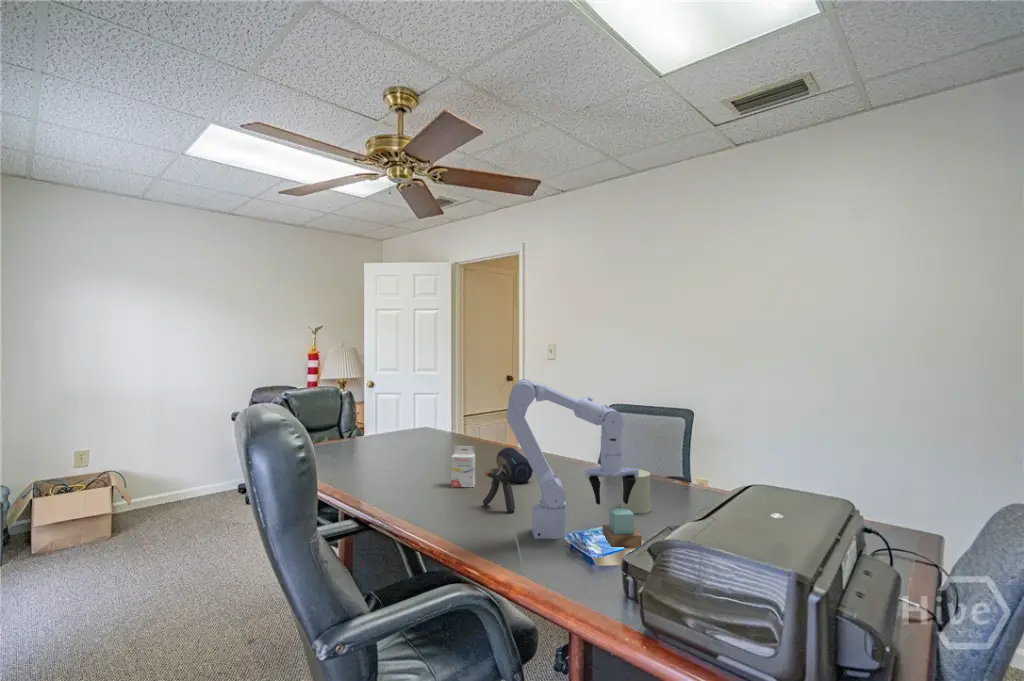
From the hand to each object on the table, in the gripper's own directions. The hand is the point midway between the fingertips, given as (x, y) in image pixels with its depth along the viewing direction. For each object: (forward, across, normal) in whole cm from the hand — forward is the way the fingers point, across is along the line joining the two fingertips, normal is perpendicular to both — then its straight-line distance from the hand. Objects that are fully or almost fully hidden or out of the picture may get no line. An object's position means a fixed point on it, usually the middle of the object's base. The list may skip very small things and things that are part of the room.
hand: (611, 503), depth 131 cm
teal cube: (+5, +1, -5) cm, 8 cm away
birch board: (+9, -1, -9) cm, 13 cm away
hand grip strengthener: (+10, -30, +25) cm, 41 cm away
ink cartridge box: (+10, -43, +51) cm, 67 cm away
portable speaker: (+10, -23, +63) cm, 68 cm away
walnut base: (+9, +1, -5) cm, 11 cm away
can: (+10, +14, +22) cm, 28 cm away
